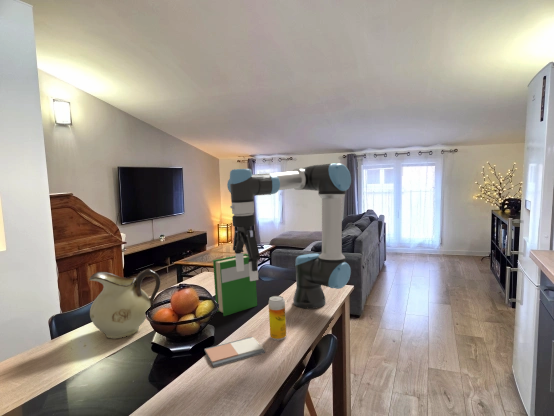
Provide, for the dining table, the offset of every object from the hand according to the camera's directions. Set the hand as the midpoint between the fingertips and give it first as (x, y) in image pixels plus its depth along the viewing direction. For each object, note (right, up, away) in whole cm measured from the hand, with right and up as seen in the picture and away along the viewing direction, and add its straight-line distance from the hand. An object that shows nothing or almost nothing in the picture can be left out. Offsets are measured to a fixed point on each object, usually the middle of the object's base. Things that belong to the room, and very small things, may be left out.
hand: (246, 275), depth 118 cm
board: (-4, -27, +1) cm, 27 cm away
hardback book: (-8, -24, +41) cm, 48 cm away
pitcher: (-52, -27, +22) cm, 63 cm away
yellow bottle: (+11, -25, +10) cm, 29 cm away
